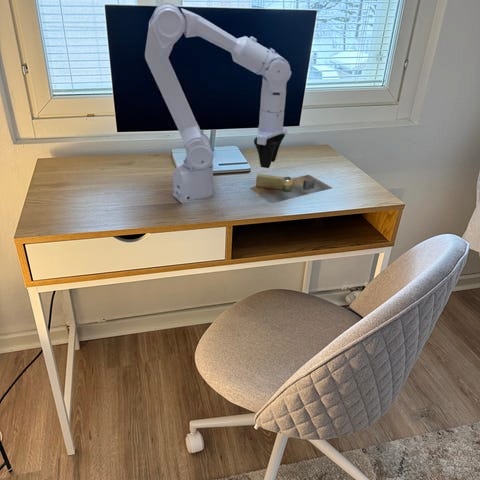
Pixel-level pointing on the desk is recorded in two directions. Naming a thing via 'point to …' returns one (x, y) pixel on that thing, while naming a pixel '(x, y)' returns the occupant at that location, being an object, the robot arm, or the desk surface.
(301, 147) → the desk surface
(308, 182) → the block
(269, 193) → the board
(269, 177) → the lock bar
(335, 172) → the desk surface
